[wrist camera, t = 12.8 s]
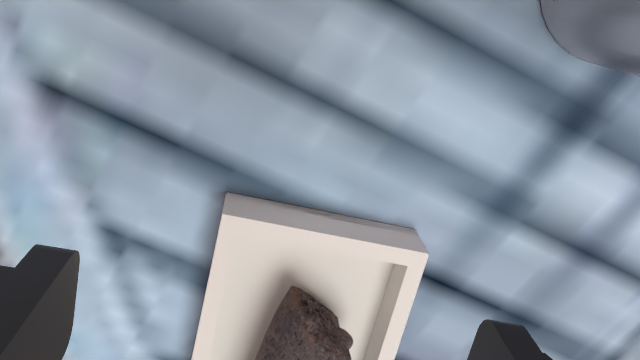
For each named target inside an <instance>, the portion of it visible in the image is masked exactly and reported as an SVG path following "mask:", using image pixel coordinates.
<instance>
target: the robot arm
mask: <svg viewBox="0 0 640 360" xmlns="http://www.w3.org/2000/svg"><path fill="white" fill-rule="evenodd" d="M541 7H542V13H543V17H544V19H545V22H546V24H547V27H548V29H549V31H550V32H551V34H552V35H553V37H554V38H555V40H556V41H557V43H558V44H559V45H561V46H562V47H563V48H564V49H565V50H566V51H567V52H568V53H570V54H572V55H574V56H576V57H578V58H579V59H581V60H584V61H587V62H591V63H594V64H598V65H601V66H605V67H608V68H612V69H615V70H618V71H621V72H625V73H628V74H631V75H635V76H638V77H640V0H541ZM79 262H80V257H79V252H78V251H75V250H69V249H63V248H57V247H51V246H45V245H38V244H36V245H35V246H34V247H33V248H32V249H31V250H30V251H29V252H28V253H27V254H26V256H25V257H24V258H23V259H22V260H21V261H20V262H19V264H18V265H17V266H16V267H15V268H13V267H6V266H0V360H62V358H63V356H64V354H65V352H66V349H67V346H68V343H69V340H70V336H71V331H72V326H73V319H74V309H75V300H76V291H77V282H78V272H79ZM467 360H553V359H551V358H550V357H549V356H548V355H547V354H545V353H542V352H541V350H540V349H539V347H538V346H537V344H536V343H535V341H534V340H533V339H532V337H531V336H530V334H529V333H528V331H527V330H526V329H525V327H524V326H522V325H518V324H512V323H506V322H500V321H494V320H484V321H483V322H482V323H481V324H480V326H479V328H478V330H477V333H476V336H475V339H474V342H473V345H472V347H471V350H470V353H469V356H468V359H467Z"/></svg>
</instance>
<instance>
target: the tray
mask: <svg viewBox="0 0 640 360" xmlns="http://www.w3.org/2000/svg"><path fill="white" fill-rule="evenodd" d="M428 256H429V253H428V251H427V249H426V248H425V246H424V244H423V242H422V241H421V239H420V237H419V235H418V234H417V232H416V230H415V229H410V228H405V227H400V226H395V225H390V224H385V223H380V222H375V221H370V220H365V219H360V218H355V217H350V216H345V215H340V214H335V213H330V212H325V211H320V210H315V209H310V208H305V207H299V206H294V205H289V204H284V203H279V202H274V201H269V200H264V199H259V198H254V197H249V196H244V195H239V194H234V193H229V192H226V196H225V201H224V205H223V210H222V215H221V220H220V224H219V229H218V234H217V239H216V243H215V248H214V253H213V258H212V263H211V267H210V272H209V277H208V282H207V286H206V291H205V296H204V301H203V305H202V310H201V315H200V320H199V324H198V329H197V334H196V339H195V343H194V348H193V353H192V358H191V360H255V358H256V355H257V353H258V351H259V348H260V346H261V343H262V341H263V338H264V336H265V334H266V331H267V329H268V327H269V325H270V323H271V321H272V319H273V316H274V314H275V312H276V310H277V308H278V307H279V305H280V303H281V302H282V300H283V298H284V297H285V295H286V293H287V292H288V290H289V289H290V287H291V286H295V287H297V288H301V289H302V290H303V291H304V292H307V293H309V294H310V295H312V296H313V297H314V298H315V299H316V300H318V301H319V302H320V303H322V304H323V305H324V306H326V307H327V308H328V309H330V310H331V311H332V312H333V313H334V314H335V316H337V317H338V321H339V326H340V328H342V329H344V330H346V331H347V332H348V333H349V334H350V335H351V337H352V339H353V345H352V347H351V348H350V349H349V352H350V355H351V360H394V359H395V356H396V353H397V350H398V347H399V344H400V341H401V338H402V335H403V332H404V329H405V326H406V323H407V319H408V316H409V313H410V310H411V307H412V304H413V301H414V298H415V295H416V292H417V289H418V286H419V283H420V280H421V277H422V274H423V271H424V268H425V265H426V262H427V259H428Z"/></svg>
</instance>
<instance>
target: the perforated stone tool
mask: <svg viewBox="0 0 640 360" xmlns="http://www.w3.org/2000/svg"><path fill="white" fill-rule="evenodd" d="M352 345H353V339H352V337H351V335H350V334H349V333H348V332H347V331H346V330H344V329H342V328H340V326H339V321H338V317H337V316H335V314H334V313H333V312H332V311H331V310H330V309H328V308H327V307H326V306H324V305H323V304H322V303H320V302H319V301H318V300H316V299H315V298H314V297H313V296H312V295H310V294H309V293H307V292H304V291H303V290H302V289H301V288H297V287H295V286H291V287H290V289H289V290H288V292H287V293H286V295H285V297H284V298H283V300H282V302H281V303H280V305H279V307H278V308H277V310H276V312H275V314H274V316H273V319H272V321H271V323H270V325H269V327H268V329H267V331H266V334H265V336H264V338H263V341H262V343H261V346H260V348H259V351H258V353H257V355H256V358H255V360H351V355H350V352H349V349H350V348H351V347H352Z"/></svg>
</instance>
